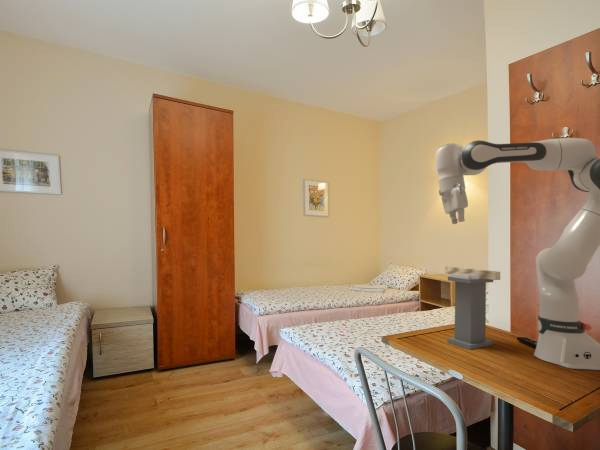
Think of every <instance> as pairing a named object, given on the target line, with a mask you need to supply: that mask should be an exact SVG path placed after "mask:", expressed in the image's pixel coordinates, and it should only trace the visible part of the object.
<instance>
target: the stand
mask: <svg viewBox="0 0 600 450" xmlns="http://www.w3.org/2000/svg"><path fill="white" fill-rule="evenodd" d="M449 275H450V276H447V281H450V282H454V336H453V337H447V338H446V343H449V344H452V345H455V346H456V347H457V346H458V347H461V348H463V349H466V350H476V349H480V348H484V347H489V346H493V345H494V341H493V340H490V339H487V338H486V333H487V332H486V326H487V325H486V323H487V320H486V318H487V317H486V316H487V315H486V314H487V307H486V305H487V304H486V303H487V299H486V298H487V294H486V293H487V283H494V280H491V279H484V278H481V275H473V274H465V273H461V275H459V274H449Z"/></svg>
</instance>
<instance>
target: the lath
mask: <svg viewBox="0 0 600 450" xmlns="http://www.w3.org/2000/svg"><path fill="white" fill-rule="evenodd" d="M444 268H445V272H444V273H445V274H446V275H450V274H459V275H461V273H465V274H473V275H481V278H484V279H491V280H493V281H500V280H501V271H497V270H487V269H486V270H485V269H478V268H476V269H475V268H468V267H467V268H465V267H458V266H445V267H444Z"/></svg>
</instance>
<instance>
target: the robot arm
mask: <svg viewBox="0 0 600 450" xmlns="http://www.w3.org/2000/svg"><path fill="white" fill-rule="evenodd" d="M434 155H435V157H434V158H435V159H434V160H435V161H434V162H435V167H436V172H437V174H438V186H439V187H438V189H439V190H438V193H439V196H440V197H441V202H442V205H443V210H444V213H445V214H446V215H449V217H450V220H451V224H452V225H456V224H458V222H459V223H461V222H462V223H463V222H465V221H466V220H465V209H466V208H468V205H469V202H468V197H467V193H466V184H465V178H464V177H465V176H477V175H480V174H481V173H483V172H484V171H485V170H486V168H487V167H489V166H491V165H493V164H494V165H495V164H502V163H503V164H505V163H524V164H526V165H527V167H529V169H532V170H533V171H541V172H542V171H543V172H549V171H550V172H551V171H563V170H564V171H567V172H568V175H569V178H570V183H571V184H572V186H573V187H574V188H575V189H576V190H579V191H581V192H585V193H589V196H588V199H587V201H586V202H585V204H584V205H583V206H582V207H581V208H580V209H579V211H578V212H577V213H576V214H575V215H574V216H573V218H572V219H571V220H570V221H569V223H568V224H567V225H566V226H565V227H564V229H563V232H562V234H561V235H560V237H559V239H558V240H557V242H556V243H555V245H554V246H553V247H546V248H544V249H543V250H541V251H540V252H539V253H538V254H537V255H536V258H535V265H536V277H537V285H538V294H539V315H538V318H537V331H538V336H537V337H538V338H537V343H536V346H535V350H534V352H533V356H534V357H536V358H537V359H540V360H542V361H545V362H548V363H551V364H554V365H559V366H561V367H564V368H567V369H572V370H573V369H574V370H575V369H576V370H591V371H600V342H598V341H597V340H596V339H595V338H593V337H592V336H590V334H588V333H586V331H587V332H588V331H591V330H592V329H593V327H592V326H591V324H588V323H584V322H583V321H580V320H579V314H580V313H579V311H580V309H579V306H580V305H579V302H580V301H579V295H578V293H577V289H576V285H575V280H577V279H579V278H581V277H582V276H583V275H584V274H585V273H586V270H587V266H589V263H590V262H591V261H592V258H593V257H594V255H595V254H596V252H597V250H598V249H599V247H600V157H599V156H598V155H597V153H596V148H595V145H594V143H593V141H591V140H590V139H587V138H581V137H580V138H578V137H562V138H561V137H560V138H550V139H543V140H537V141H532V142H517V143H516V142H515V143H493V142H490V141H485V140H479V139H478V140H473V141H471V142H469V143H468V144H467V145H465V146H461V145H458V144H456V143H454V142H453V143H447V144H445V145H443V146H441V147H439V148H438V149H437V150H436V152H435V154H434Z"/></svg>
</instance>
